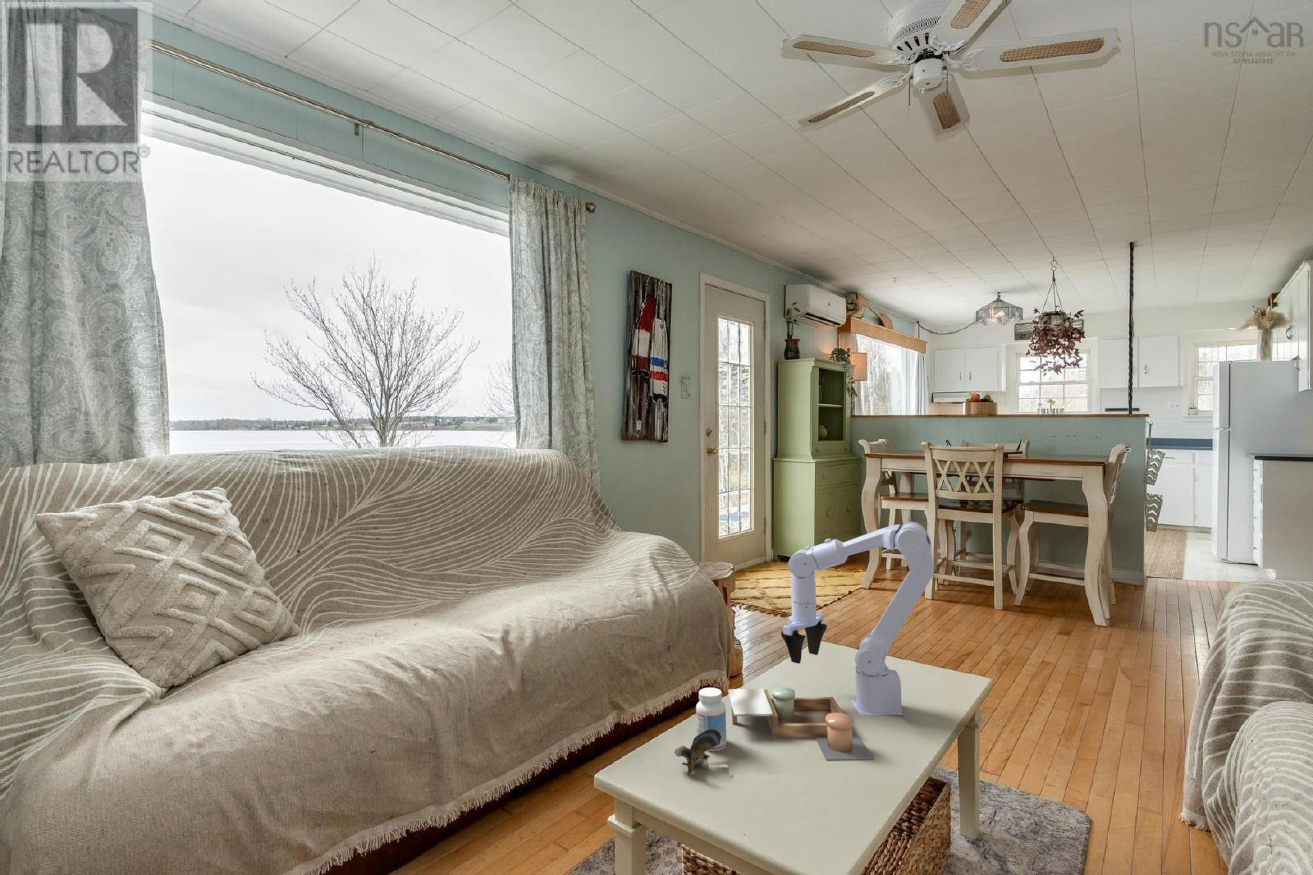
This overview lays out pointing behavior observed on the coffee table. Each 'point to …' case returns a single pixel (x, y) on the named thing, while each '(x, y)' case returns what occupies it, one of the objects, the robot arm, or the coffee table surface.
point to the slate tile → (854, 754)
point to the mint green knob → (784, 702)
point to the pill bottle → (711, 714)
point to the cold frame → (804, 723)
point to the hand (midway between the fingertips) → (804, 658)
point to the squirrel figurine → (699, 749)
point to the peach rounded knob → (839, 731)
